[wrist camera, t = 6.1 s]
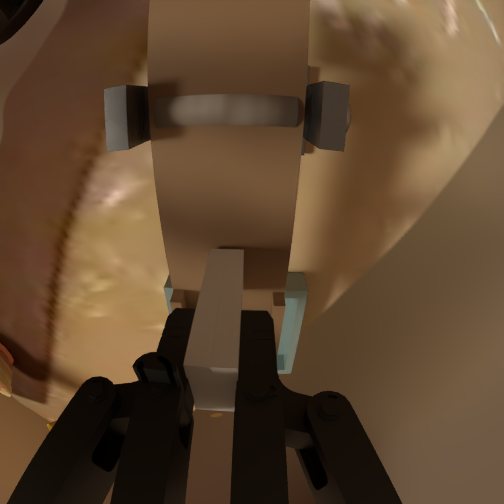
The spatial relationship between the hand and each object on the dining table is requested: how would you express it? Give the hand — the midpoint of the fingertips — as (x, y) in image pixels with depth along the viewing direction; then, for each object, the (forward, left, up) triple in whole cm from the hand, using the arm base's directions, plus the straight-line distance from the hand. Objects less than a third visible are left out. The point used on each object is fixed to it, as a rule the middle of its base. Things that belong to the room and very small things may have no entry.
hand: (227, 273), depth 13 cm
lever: (-4, 0, -4) cm, 6 cm away
